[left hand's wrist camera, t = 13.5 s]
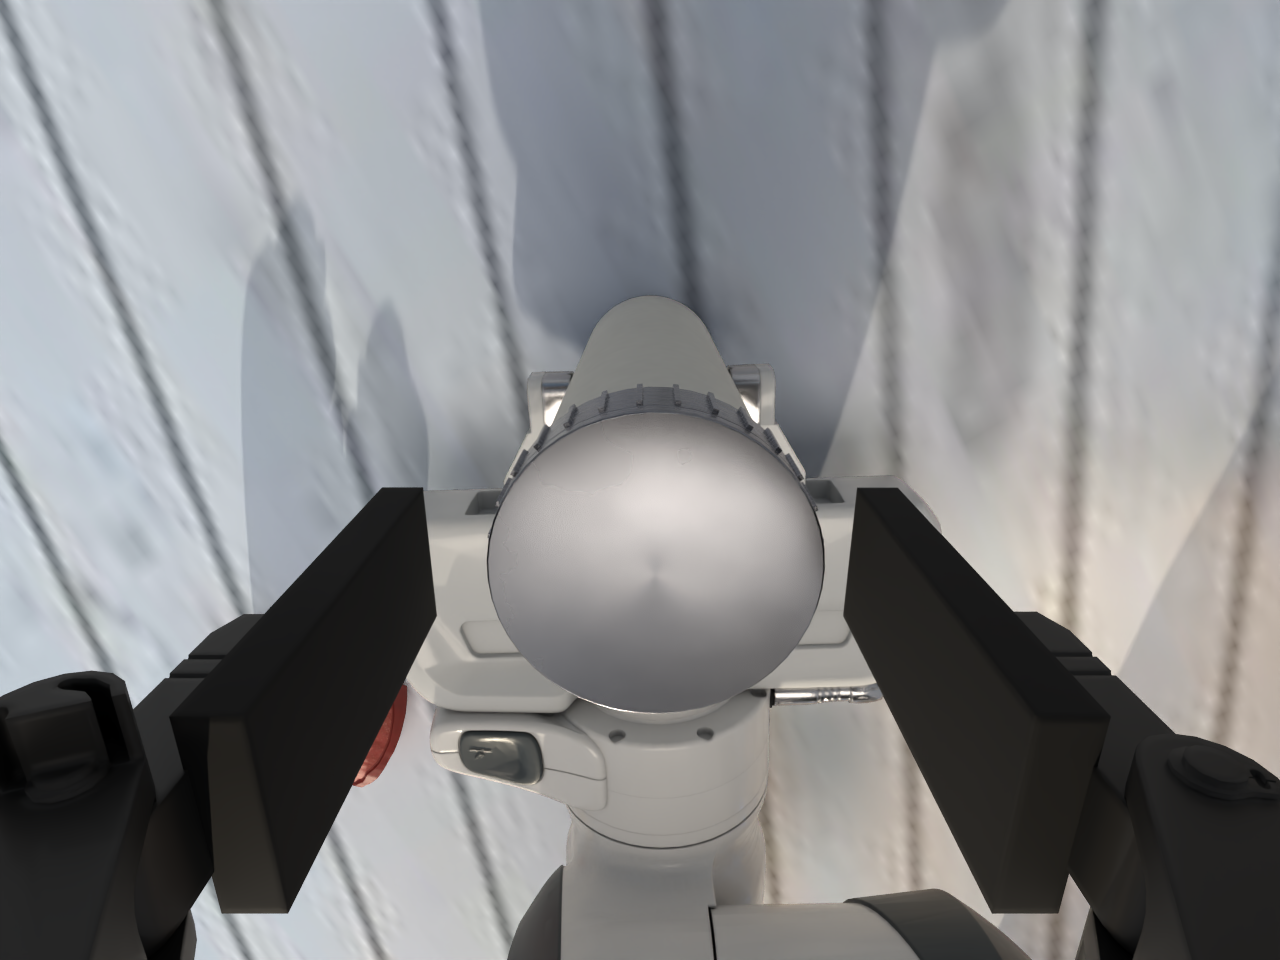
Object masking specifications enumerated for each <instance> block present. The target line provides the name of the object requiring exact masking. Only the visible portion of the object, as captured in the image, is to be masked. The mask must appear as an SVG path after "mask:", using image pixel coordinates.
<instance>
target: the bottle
mask: <svg viewBox="0 0 1280 960" xmlns="http://www.w3.org/2000/svg"><path fill="white" fill-rule="evenodd" d="M637 384H643V387H672V388H673V384H677V385H679V389H685V390H691V391H694V392H698V393H701V394H705V395H707V393H708V392H711V393H713V394H714V396H715V398H716V399H718V400H720V401H723V402H725V403H727V404H730V405H731V406H733V407H735V408H736V409H739V408H740V406H741V407H743V408H744V409H745V410H746V412H747V414H748V416H749V417H750V418H751V419H752V417H751V415H750V413H749V411H748V409H747V407H746V405H745V403H744V401H743V399H742V397H741V395H740V393H739V391H738V389H737V388H736V386H735V384H734V382H733V380H732V378H731V376H730V374H729V372H728V370H727V368H726V366H725V364H724V362H723V360H722V358H721V356H720V354H719V352H718V350H717V348H716V346H715V344H714V342H713V340H712V338H711V336H710V334H709V332H708V330H707V328H706V326H705V325H704V323H703V322H702V320H701V319H700V318H699V317H698V316H697V315H696V314H695V313H694V312H693V311H692V310H691V309H689V308H688V307H687V306H685V305H683V304H682V303H680V302H678V301H675V300H673V299H670V298H666V297H661V296H639V297H635V298H631V299H628V300H626V301H623V302H621V303H620V304H618V305H616V306H614V307H613V308H612V309H610V310H609V311H608V312H607V313H606V314H605V315H604V316H603V317H602V318H601V319H600V320H599V322H598V323H597V324H596V326H595V328H594V330H593V331H592V334H591V336H590V338H589V340H588V343H587V345H586V347H585V349H584V352H583V354H582V356H581V358H580V361H579V363H578V365H577V368H576V370H575V372H574V374H573V377H572V379H571V381H570V383H569V386H568V388H567V390H566V393H565V395H564V397H563V399H562V402H561V404H560V406H559V408H558V411H557V413H556V415H555V417H554V420H553V422H552V423H554V422H555V421H556V420H558V419H559V418H560V417H562V416H563V415H565V414H566V413H567V412H568V410H569V407H570V406H571V405H573V404H575V405H576V407H578V406H580V405H581V404H583V403H585V402H587V401H589V400H592V399H595V398H597V397H600V396H601V394H602V392H603V391H606V390H607V391H608V393H612V392H617V391H621V390H625V389H631V388H637Z"/></svg>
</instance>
